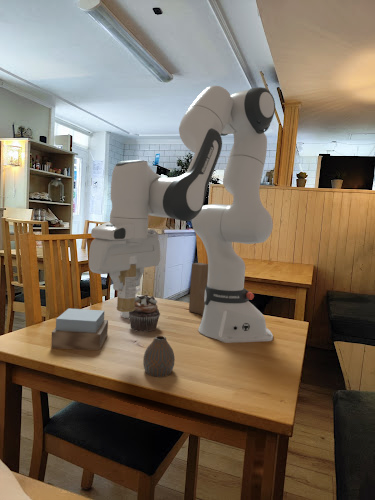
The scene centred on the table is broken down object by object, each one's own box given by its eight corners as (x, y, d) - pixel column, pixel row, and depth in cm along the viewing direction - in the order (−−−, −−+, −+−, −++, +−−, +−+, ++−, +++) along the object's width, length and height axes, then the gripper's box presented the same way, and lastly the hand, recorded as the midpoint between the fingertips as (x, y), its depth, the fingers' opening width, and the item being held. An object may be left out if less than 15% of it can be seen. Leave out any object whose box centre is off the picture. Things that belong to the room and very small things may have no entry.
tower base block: (107, 337, 105) (108, 320, 104) (99, 353, 93) (100, 334, 92) (64, 335, 104) (65, 317, 104) (51, 351, 92) (51, 332, 92)
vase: (169, 384, 78) (172, 345, 77) (138, 380, 79) (140, 340, 78) (176, 371, 85) (178, 334, 84) (147, 367, 86) (149, 330, 85)
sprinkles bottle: (114, 308, 89) (115, 253, 88) (131, 306, 92) (133, 253, 90) (120, 313, 85) (121, 256, 84) (138, 311, 88) (140, 255, 86)
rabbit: (116, 312, 128) (117, 286, 127) (136, 311, 131) (138, 285, 130) (123, 321, 119) (125, 292, 118) (145, 319, 122) (147, 291, 121)
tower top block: (103, 321, 103) (104, 310, 103) (95, 332, 93) (95, 321, 93) (68, 318, 103) (68, 308, 103) (55, 330, 93) (56, 318, 93)
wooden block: (215, 314, 134) (219, 265, 132) (207, 317, 130) (211, 266, 129) (195, 309, 140) (199, 262, 138) (188, 311, 136) (191, 263, 134)
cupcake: (121, 327, 113) (122, 295, 111) (143, 321, 120) (145, 291, 119) (143, 335, 107) (145, 302, 106) (165, 328, 115) (167, 297, 113)
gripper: (148, 228, 96) (146, 279, 98) (85, 229, 80) (83, 292, 82) (167, 230, 93) (164, 283, 94) (104, 232, 76) (102, 297, 78)
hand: (126, 287), depth 88 cm, fingers closed on sprinkles bottle, 4 cm apart
